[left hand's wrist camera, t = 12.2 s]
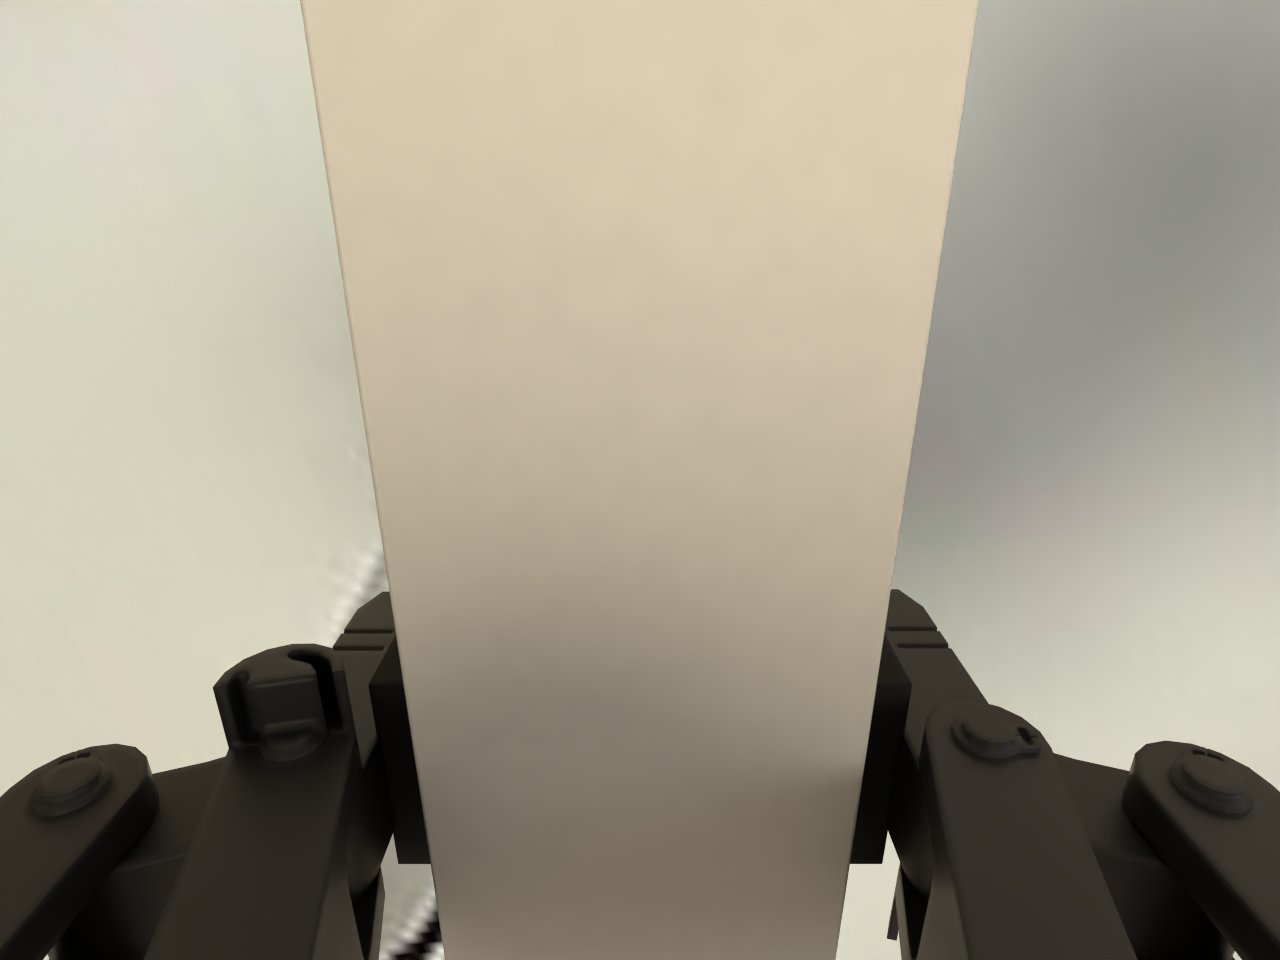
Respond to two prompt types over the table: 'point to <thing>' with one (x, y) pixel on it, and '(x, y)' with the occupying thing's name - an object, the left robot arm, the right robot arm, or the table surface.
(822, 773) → the post
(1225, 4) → the table surface
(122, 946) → the left robot arm
